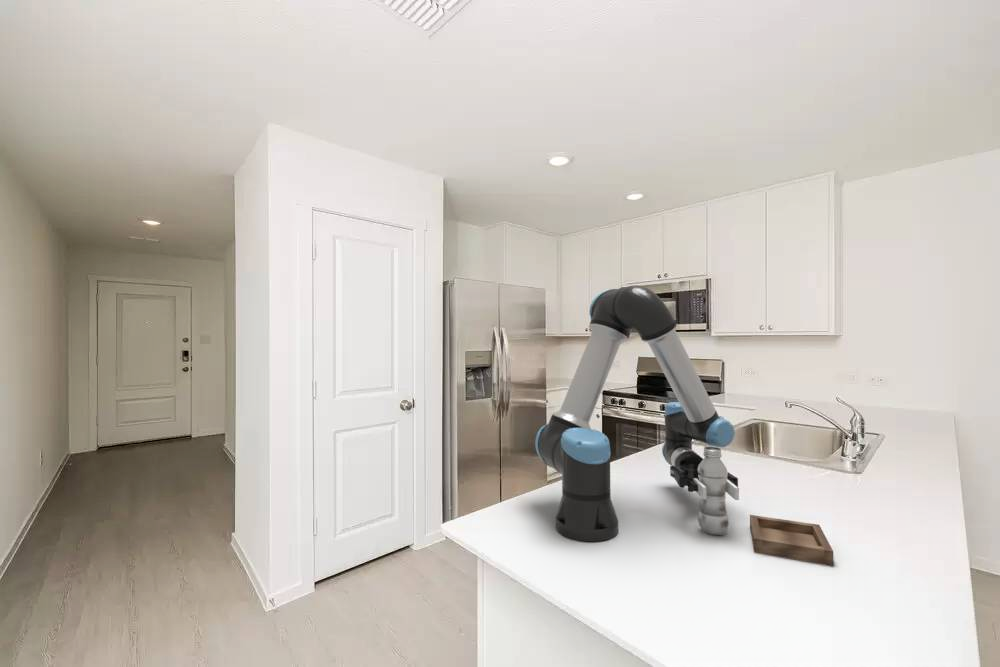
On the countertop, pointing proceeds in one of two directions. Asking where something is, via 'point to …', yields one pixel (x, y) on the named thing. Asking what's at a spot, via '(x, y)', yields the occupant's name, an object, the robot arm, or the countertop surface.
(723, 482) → the plastic bottle
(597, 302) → the robot arm
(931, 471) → the countertop surface
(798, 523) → the wooden tray
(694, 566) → the countertop surface
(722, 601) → the countertop surface
